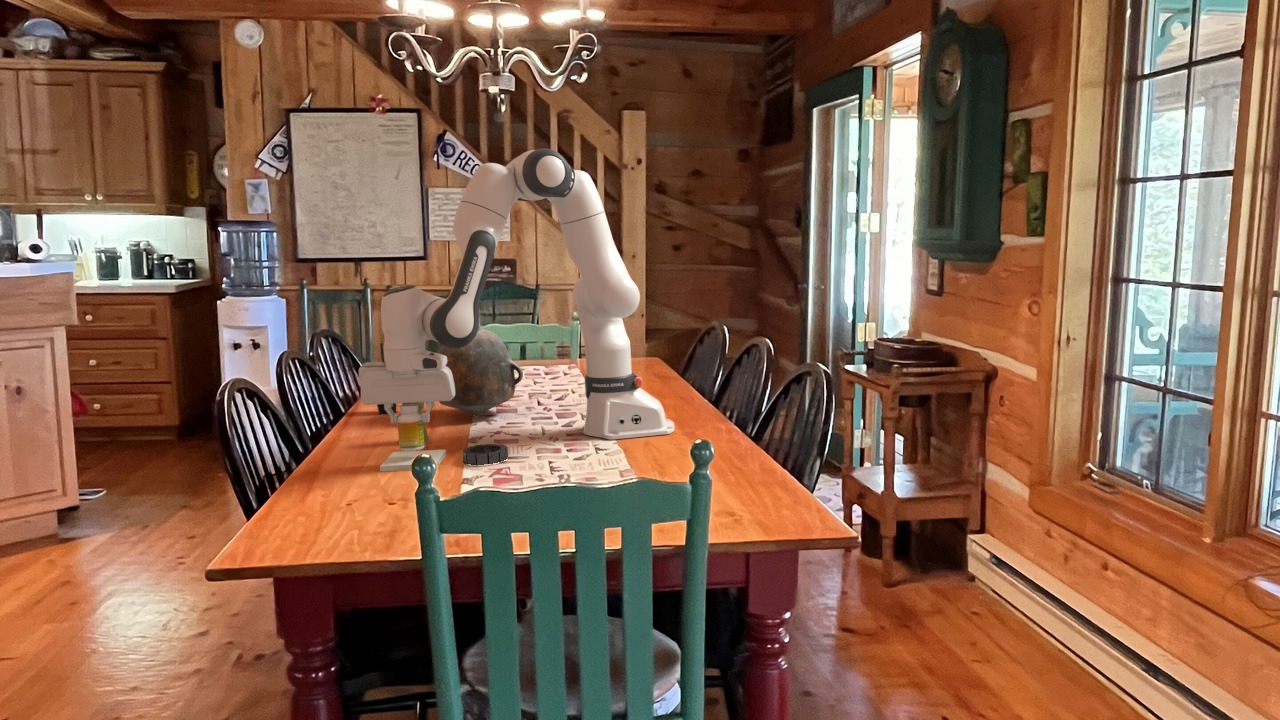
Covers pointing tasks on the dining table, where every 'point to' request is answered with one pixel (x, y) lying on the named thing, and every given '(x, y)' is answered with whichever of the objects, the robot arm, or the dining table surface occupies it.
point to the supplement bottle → (410, 428)
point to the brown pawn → (420, 408)
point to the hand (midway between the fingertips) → (410, 422)
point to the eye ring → (485, 454)
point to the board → (409, 459)
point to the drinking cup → (381, 406)
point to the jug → (481, 374)
